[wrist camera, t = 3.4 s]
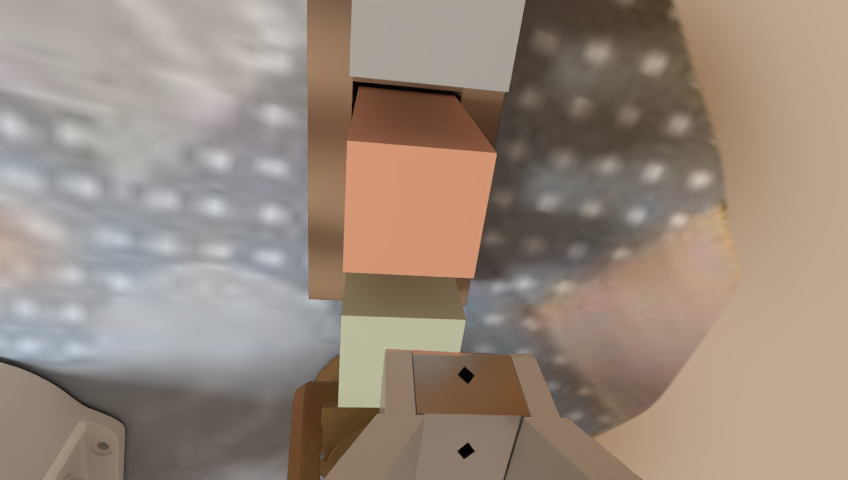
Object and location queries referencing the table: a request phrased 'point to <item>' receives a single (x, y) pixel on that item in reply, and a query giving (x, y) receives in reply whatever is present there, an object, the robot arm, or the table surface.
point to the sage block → (392, 327)
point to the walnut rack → (330, 134)
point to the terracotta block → (414, 185)
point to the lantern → (322, 426)
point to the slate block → (436, 41)
